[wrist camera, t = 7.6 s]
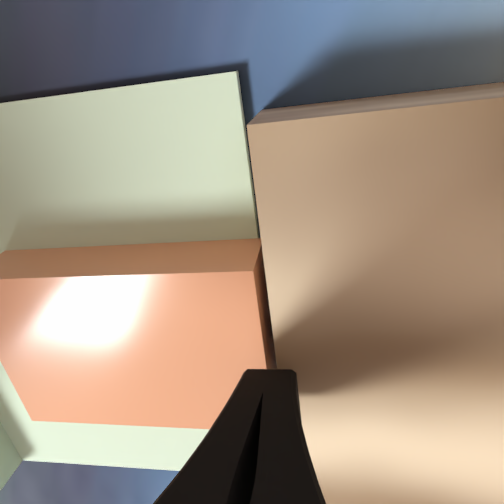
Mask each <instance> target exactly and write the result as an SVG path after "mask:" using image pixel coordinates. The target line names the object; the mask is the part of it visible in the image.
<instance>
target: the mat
mask: <svg viewBox="0 0 504 504" xmlns="http://www.w3.org/2000/svg"><path fill="white" fill-rule="evenodd" d="M255 238H259V230H258V222H257V214H256V206H255V199H254V191H253V183H252V175H251V167H250V159H249V151H248V143H247V136H246V128H245V120H244V112H243V104H242V96H241V88H240V81H239V73H238V71H233V72H226V73H219V74H211V75H204V76H197V77H189V78H182V79H175V80H167V81H160V82H152V83H145V84H138V85H130V86H123V87H116V88H108V89H101V90H94V91H86V92H79V93H72V94H64V95H57V96H49V97H42V98H35V99H27V100H20V101H13V102H5V103H0V254H1V253H2V252H4V251H5V250H26V249H46V248H67V247H88V246H109V245H130V244H151V243H172V242H193V241H214V240H234V239H255ZM209 430H210V429H193V428H172V427H151V426H130V425H109V424H89V423H68V422H47V421H32V420H31V418H30V416H29V414H28V412H27V410H26V409H25V407H24V405H23V403H22V401H21V399H20V397H19V395H18V393H17V392H16V390H15V388H14V386H13V384H12V382H11V380H10V378H9V376H8V375H7V373H6V371H5V369H4V367H3V365H2V363H1V361H0V490H1V489H2V488H3V487H4V485H5V484H6V483H7V481H8V480H9V478H10V477H11V476H12V474H13V473H14V472H15V470H16V469H17V467H18V466H19V465H20V463H21V462H22V460H27V461H42V462H57V463H71V464H86V465H101V466H115V467H130V468H145V469H160V470H174V471H180V470H181V469H182V467H183V466H184V465H185V463H186V462H187V461H188V459H189V458H190V456H191V455H192V454H193V452H194V451H195V450H196V448H197V447H198V445H199V444H200V443H201V441H202V440H203V439H204V437H205V436H206V434H207V433H208V431H209Z"/></svg>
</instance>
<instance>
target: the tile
mask: <svg viewBox="0 0 504 504" xmlns="http://www.w3.org/2000/svg"><path fill="white" fill-rule="evenodd" d="M0 361H1V363H2V365H3V367H4V369H5V371H6V373H7V375H8V376H9V378H10V380H11V382H12V384H13V386H14V388H15V390H16V392H17V393H18V395H19V397H20V399H21V401H22V403H23V405H24V407H25V409H26V410H27V412H28V414H29V416H30V418H31V420H32V421H47V422H68V423H89V424H109V425H130V426H151V427H172V428H193V429H210V428H211V426H212V425H213V423H214V422H215V420H216V419H217V417H218V416H219V414H220V413H221V411H222V409H223V408H224V406H225V405H226V403H227V401H228V400H229V398H230V396H231V394H232V393H233V391H234V389H235V388H236V386H237V384H238V382H239V380H240V378H241V376H242V375H243V373H244V371H246V370H247V369H277V363H276V355H275V347H274V339H273V331H272V323H271V316H270V308H269V300H268V292H267V284H266V276H265V268H264V260H263V252H262V244H261V238H255V239H234V240H214V241H193V242H172V243H151V244H130V245H109V246H88V247H67V248H46V249H26V250H5V251H4V252H2V253H1V254H0Z"/></svg>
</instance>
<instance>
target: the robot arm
mask: <svg viewBox="0 0 504 504" xmlns="http://www.w3.org/2000/svg"><path fill="white" fill-rule="evenodd" d="M153 504H326V502H325V499H324V496H323V494H322V491H321V488H320V485H319V482H318V479H317V476H316V473H315V470H314V467H313V464H312V460H311V457H310V454H309V450H308V447H307V443H306V439H305V435H304V431H303V427H302V420H301V411H300V401H299V392H298V383H297V373H296V372H295V371H293V370H292V369H247V370H246V371H244V373H243V375H242V376H241V378H240V380H239V382H238V384H237V386H236V388H235V389H234V391H233V393H232V394H231V396H230V398H229V400H228V401H227V403H226V405H225V406H224V408H223V409H222V411H221V413H220V414H219V416H218V417H217V419H216V420H215V422H214V423H213V425H212V426H211V428H210V430H209V431H208V433H207V434H206V436H205V437H204V439H203V440H202V441H201V443H200V444H199V445H198V447H197V448H196V450H195V451H194V452H193V454H192V455H191V456H190V458H189V459H188V461H187V462H186V463H185V465H184V466H183V467H182V469H181V470H180V471H179V473H178V474H177V475H176V476H175V478H174V479H173V480H172V481H171V483H170V484H169V485H168V486H167V488H166V489H165V490H164V491H163V492H162V494H161V495H160V496H159V497H158V498H157V499H156V501H155V502H154V503H153Z"/></svg>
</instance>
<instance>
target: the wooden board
mask: <svg viewBox="0 0 504 504" xmlns="http://www.w3.org/2000/svg"><path fill="white" fill-rule="evenodd" d="M247 132H248V140H249V148H250V156H251V164H252V172H253V180H254V188H255V196H256V204H257V212H258V220H259V228H260V236H261V244H262V252H263V260H264V268H265V276H266V284H267V292H268V300H269V308H270V316H271V323H272V331H273V339H274V347H275V355H276V363H277V369H292V370H293V371H295V372H296V373H297V383H298V392H299V401H300V411H301V420H302V427H303V431H304V435H305V439H306V443H307V447H308V450H309V454H310V457H311V460H312V464H313V467H314V470H315V473H316V476H317V479H318V482H319V485H320V488H321V491H322V494H323V496H324V499H325V502H326V504H504V82H499V83H490V84H481V85H472V86H464V87H455V88H446V89H438V90H429V91H420V92H411V93H403V94H394V95H385V96H377V97H368V98H359V99H351V100H342V101H333V102H324V103H316V104H307V105H298V106H290V107H281V108H272V109H264V110H261V111H260V112H259V113H258V114H257V115H256V116H255V117H254V118H253V119H252V120H251V121H250V122H249V123H248V124H247Z"/></svg>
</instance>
